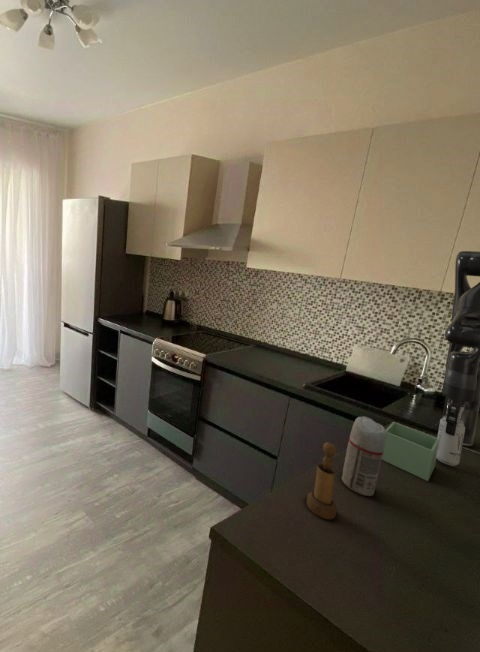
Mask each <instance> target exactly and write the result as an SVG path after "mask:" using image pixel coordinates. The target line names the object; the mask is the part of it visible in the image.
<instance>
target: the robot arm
mask: <svg viewBox="0 0 480 652" xmlns="http://www.w3.org/2000/svg"><path fill="white" fill-rule="evenodd" d="M468 277H480V251H474V250H473V251H472V250H462V251H459V252H458V253H457V254H456V257H455V261H454V296H453V301H452V309H451V317H450V323H449V325H448V326H447V327H446V329H445V332H444V338H445V339H446V341H447V342H449V345H448V350H447V356H446V360H445V372H444V377H443V383H442V388H441V393H442V394H443V395H444V396H445V399H444V404H443V405H444V406H443V411H442V417H441V419H442V418H443V416H444V415H447V419H446V422H447V426H446V431H445V432H446V433H447V434H449V435H452V436H454V435H455V431H456V426H457V425H458V423H457V422H458V419H460V420H462V421H463V422H464V423H463V424H464V426H465V433H464V438H463V444H462V447H468V448H472V447H473V446H474V439H475V433H476V429H477V423H478V417H479V413H480V412H479V411H480V281H479V282H478V283H476V284H475V285H474V286H472V287H471V286H470V283H469V281H468ZM466 347H467V348H472V349H471V350H470V351H463V349H464V348H466ZM450 417H453V418H455V421H453V420H450V419H449V418H450Z"/></svg>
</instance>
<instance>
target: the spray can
mask: <svg viewBox="0 0 480 652" xmlns="http://www.w3.org/2000/svg"><path fill="white" fill-rule="evenodd" d="M385 430H386V428H385V426H383V425H382V424H381V423H378V422H376V421H375V420H374V419H372V418H370V417H367V416H358V417H356V418H355V420H354V422H353V424H352V427H351V432H350V435H349V438H348V443H347V447H346V451H345V452H346V453H345V458H344V462H343V463H344V464H343V468H342V475H341V479H340V480H341V481H342V482H343V484H344V485H345V486H346V487H347V488H348V489H349V490H351V491H352V492H355V493H356V494H359V495H361V496H367V497H373V496H374V495H375V490H376V486H377V483H378V477H379V474H380V468H381V466H382V461H383V460H382V456H383V452H384V446H385V440H386V431H385Z"/></svg>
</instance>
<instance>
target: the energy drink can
mask: <svg viewBox="0 0 480 652" xmlns="http://www.w3.org/2000/svg"><path fill="white" fill-rule="evenodd" d="M442 417H443V418H442ZM442 417H441V418H440V420H439V425H438V431H437V437H436V438H437V439H439V445H438V451H437V456H436V460H438V461H439V462H441V463H442V464H445V465H448V466H451V467H456V466H457V465H459V464H460V460H461V457H462V456H461V455H462V449H463V446H462V444H463V438H464V433H465V426H464V424H463V423H464V422H463V421H462V420H460V419H458V422H457V423H458V425H457V426H456V431H455V435H454V436H452V435H449V434H447V433H446V432H445V431H446V426H447V422H446V419H447V415H444V416H443V415H442ZM449 419H450V420H453V421H455V418H453V417H450V418H449Z"/></svg>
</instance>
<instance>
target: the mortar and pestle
mask: <svg viewBox="0 0 480 652" xmlns="http://www.w3.org/2000/svg"><path fill="white" fill-rule="evenodd" d="M322 450H323V452H324V455H325V456H324V457H323V458H322V463H319V464H317V468H316V474H315V475H316V476H315V483H314V490H313V491H310V492H308V493H307V499H306V506H307V507H308V509H309V511H310V512H312V513H313V514H315V515H316V516H318V517H319V518H322V519H325V520H333V519H335V518H336V515H337V514H336V513H337V505H336V503H335V502H334V500H333V491H334V485H335V478H336V474H337V473H336V471H335V469H334V468H332V466H333V464H334V461H333V458H334V456H335V455H336V454H337V452H338V449H337V446H336V445H335V444H334V443H332V442H329V441H326V442H324V443H323V445H322Z"/></svg>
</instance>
